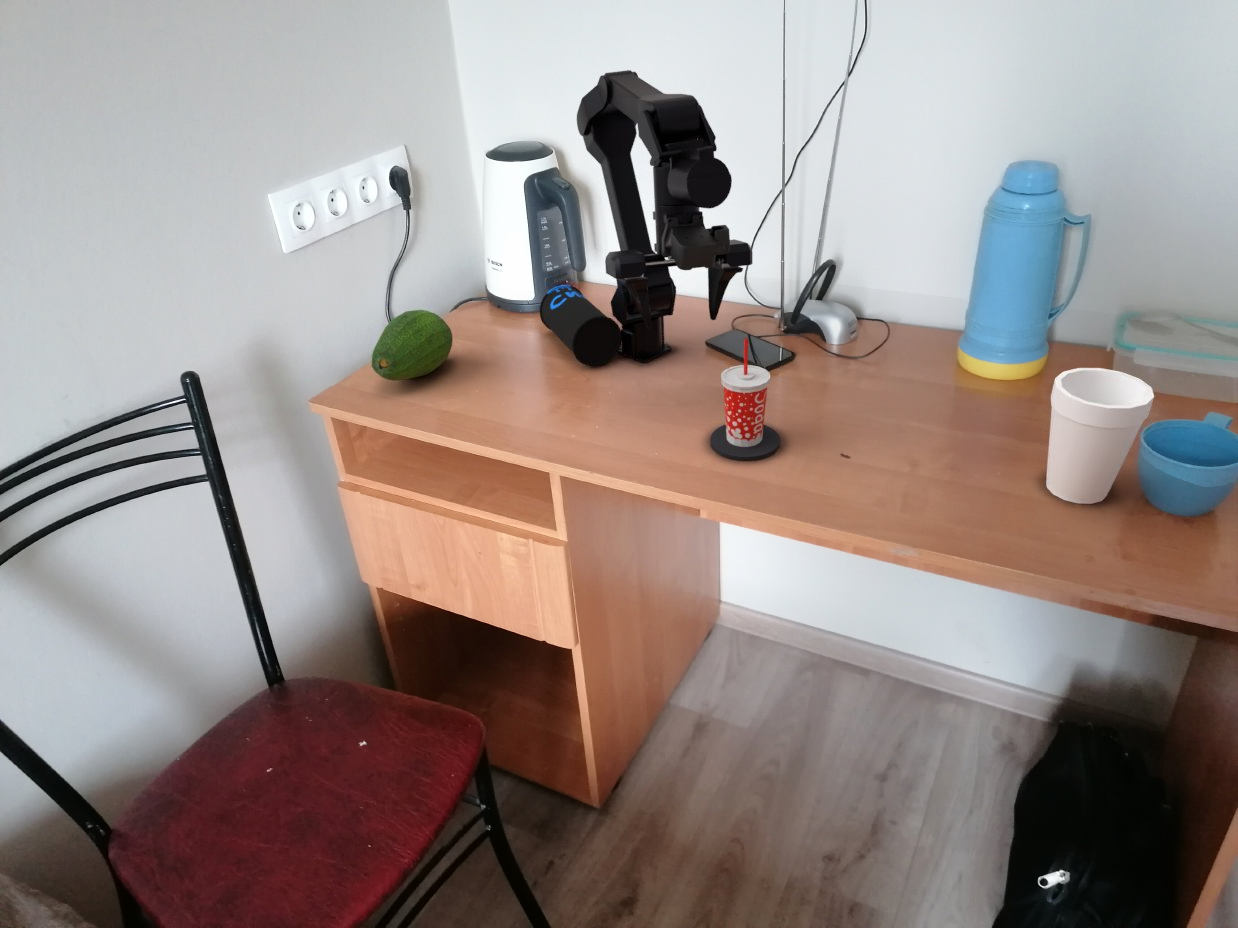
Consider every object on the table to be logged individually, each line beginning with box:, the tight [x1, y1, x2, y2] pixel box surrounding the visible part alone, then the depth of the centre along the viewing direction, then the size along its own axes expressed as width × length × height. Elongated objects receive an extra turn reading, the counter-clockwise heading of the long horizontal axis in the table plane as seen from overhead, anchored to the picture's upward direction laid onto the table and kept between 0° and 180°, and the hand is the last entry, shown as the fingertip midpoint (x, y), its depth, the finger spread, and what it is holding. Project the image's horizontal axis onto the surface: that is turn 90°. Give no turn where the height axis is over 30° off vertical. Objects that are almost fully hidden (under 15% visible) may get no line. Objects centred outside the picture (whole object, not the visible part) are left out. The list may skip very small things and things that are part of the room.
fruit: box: [371, 309, 453, 381], centre depth 131 cm, size 15×10×10 cm, turn 150°
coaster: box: [709, 424, 781, 462], centre depth 110 cm, size 9×9×1 cm
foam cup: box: [1045, 367, 1155, 505], centre depth 94 cm, size 10×9×13 cm
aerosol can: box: [539, 284, 622, 368], centre depth 138 cm, size 8×8×20 cm
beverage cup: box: [720, 337, 771, 447], centre depth 107 cm, size 6×6×14 cm
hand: (681, 323), depth 115 cm, fingers open, 9 cm apart
